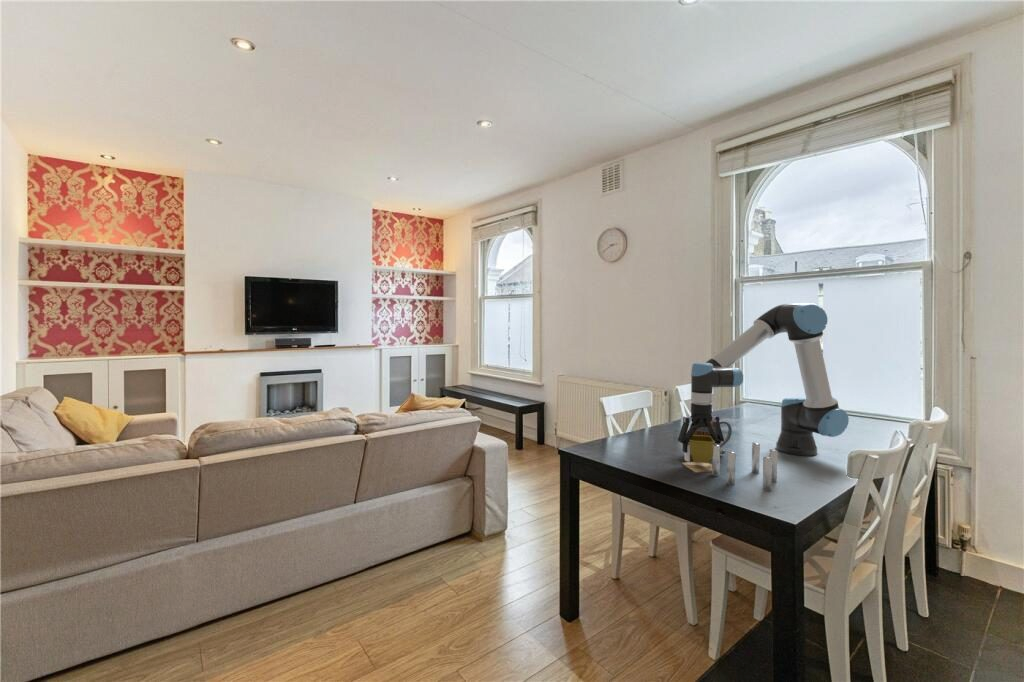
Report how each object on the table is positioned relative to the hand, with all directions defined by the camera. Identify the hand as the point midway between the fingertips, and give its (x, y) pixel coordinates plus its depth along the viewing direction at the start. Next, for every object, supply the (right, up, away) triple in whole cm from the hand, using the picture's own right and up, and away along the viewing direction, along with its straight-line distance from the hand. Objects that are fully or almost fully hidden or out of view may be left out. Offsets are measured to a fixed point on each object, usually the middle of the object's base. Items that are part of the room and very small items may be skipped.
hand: (700, 460), depth 175 cm
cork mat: (0, -3, 0) cm, 3 cm away
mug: (+11, -2, +16) cm, 19 cm away
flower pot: (0, -1, 0) cm, 1 cm away
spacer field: (+11, -4, -15) cm, 19 cm away
